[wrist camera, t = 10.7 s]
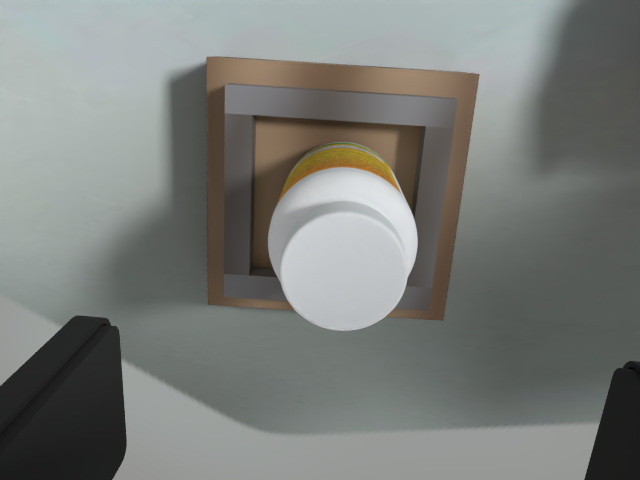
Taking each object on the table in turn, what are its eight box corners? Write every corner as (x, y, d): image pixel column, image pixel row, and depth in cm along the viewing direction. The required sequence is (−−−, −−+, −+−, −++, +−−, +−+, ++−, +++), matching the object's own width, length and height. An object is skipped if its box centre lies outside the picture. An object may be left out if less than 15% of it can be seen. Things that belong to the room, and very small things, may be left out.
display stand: (464, 72, 27) (486, 75, 23) (433, 295, 31) (447, 331, 27) (220, 56, 27) (200, 56, 23) (219, 281, 31) (202, 314, 27)
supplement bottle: (263, 174, 26) (221, 240, 17) (365, 118, 25) (382, 155, 16) (318, 268, 27) (309, 378, 18) (417, 219, 26) (460, 307, 17)
